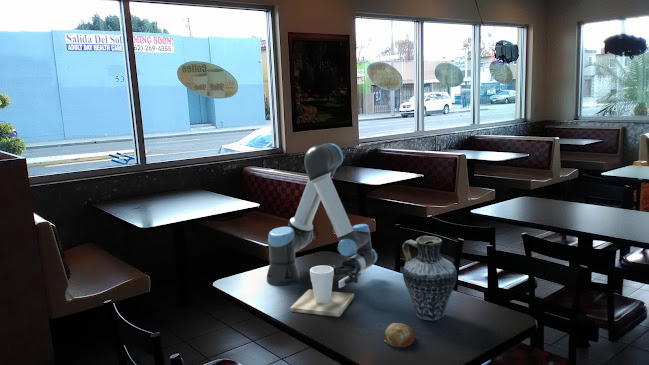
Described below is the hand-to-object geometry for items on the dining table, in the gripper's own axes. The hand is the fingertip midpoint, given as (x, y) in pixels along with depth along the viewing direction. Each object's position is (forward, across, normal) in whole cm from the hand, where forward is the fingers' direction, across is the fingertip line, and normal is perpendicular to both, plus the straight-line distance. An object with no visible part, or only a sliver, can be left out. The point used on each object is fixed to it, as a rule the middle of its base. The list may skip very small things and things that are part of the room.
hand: (325, 281), depth 212 cm
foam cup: (+1, 0, -8) cm, 8 cm away
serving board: (+2, 0, -9) cm, 9 cm away
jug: (-9, -40, -9) cm, 42 cm away
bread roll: (+14, -40, -9) cm, 43 cm away
